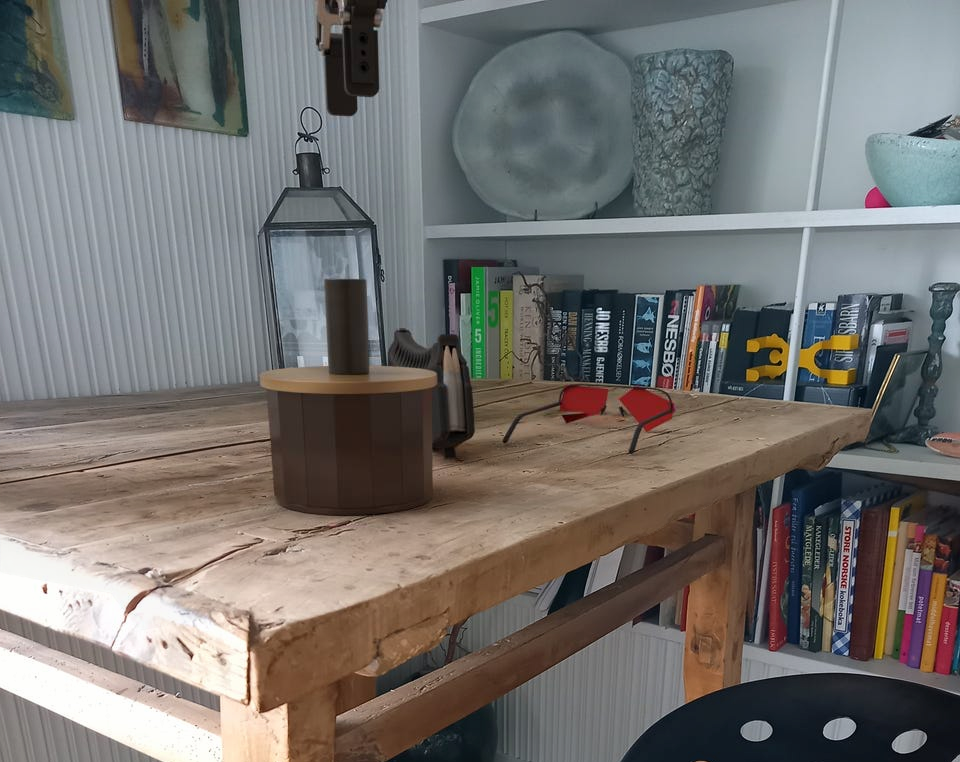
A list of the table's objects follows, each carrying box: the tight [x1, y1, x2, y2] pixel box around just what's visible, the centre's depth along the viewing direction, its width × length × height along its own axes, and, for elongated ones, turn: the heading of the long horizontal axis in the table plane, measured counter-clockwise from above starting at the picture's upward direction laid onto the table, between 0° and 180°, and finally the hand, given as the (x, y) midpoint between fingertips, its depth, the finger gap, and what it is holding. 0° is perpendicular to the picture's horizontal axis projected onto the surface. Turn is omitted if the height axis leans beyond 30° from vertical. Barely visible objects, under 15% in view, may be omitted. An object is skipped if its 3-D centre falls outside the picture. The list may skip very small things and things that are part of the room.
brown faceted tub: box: [266, 387, 434, 516], centre depth 71 cm, size 12×12×8 cm
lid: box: [259, 278, 437, 394], centre depth 68 cm, size 13×13×8 cm
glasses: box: [501, 383, 677, 455], centre depth 99 cm, size 14×16×5 cm
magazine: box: [387, 327, 476, 460], centre depth 97 cm, size 17×3×30 cm
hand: (351, 106), depth 65 cm, fingers open, 8 cm apart
